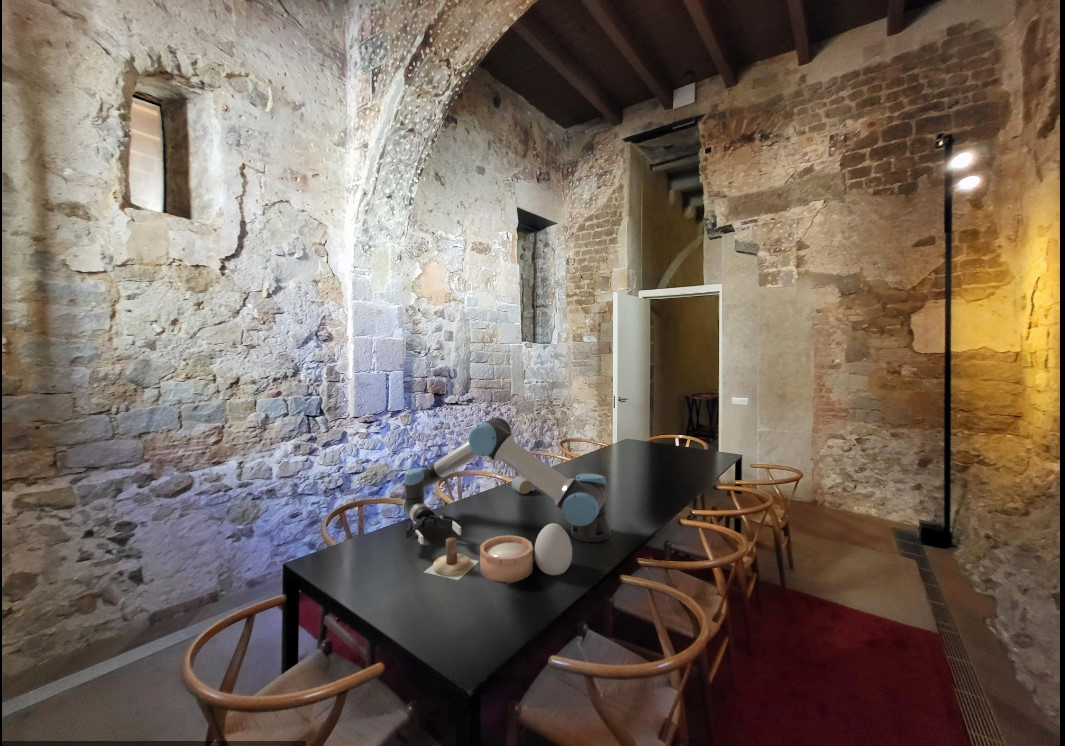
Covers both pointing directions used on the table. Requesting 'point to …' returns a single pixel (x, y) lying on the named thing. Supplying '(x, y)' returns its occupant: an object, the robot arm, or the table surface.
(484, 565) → the terracotta bowl
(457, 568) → the oak lid
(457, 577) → the sage mat
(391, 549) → the table surface
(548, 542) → the decorative egg
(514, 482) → the ceramic mug
